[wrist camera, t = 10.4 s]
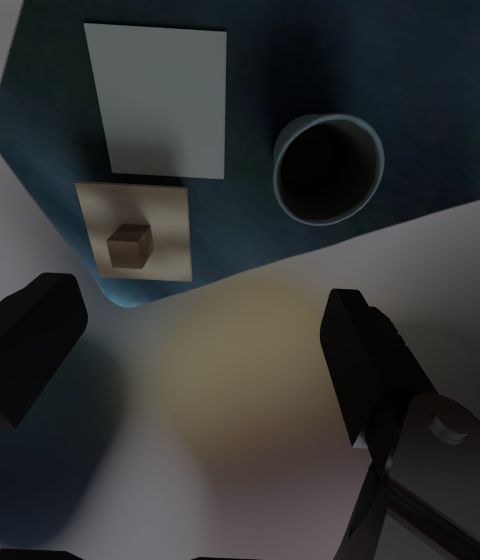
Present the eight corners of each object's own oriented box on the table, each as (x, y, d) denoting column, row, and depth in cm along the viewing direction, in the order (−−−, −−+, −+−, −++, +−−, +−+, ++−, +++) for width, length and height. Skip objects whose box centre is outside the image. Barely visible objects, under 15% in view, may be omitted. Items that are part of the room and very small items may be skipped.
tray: (85, 23, 29) (83, 23, 29) (226, 32, 30) (226, 32, 29) (113, 172, 38) (112, 172, 37) (223, 178, 38) (223, 179, 37)
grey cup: (359, 123, 34) (407, 133, 24) (325, 202, 39) (351, 237, 29) (281, 97, 33) (296, 96, 23) (256, 183, 38) (259, 212, 28)
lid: (78, 181, 33) (48, 195, 28) (187, 187, 33) (177, 202, 28) (102, 273, 40) (82, 297, 35) (192, 278, 40) (184, 303, 35)
